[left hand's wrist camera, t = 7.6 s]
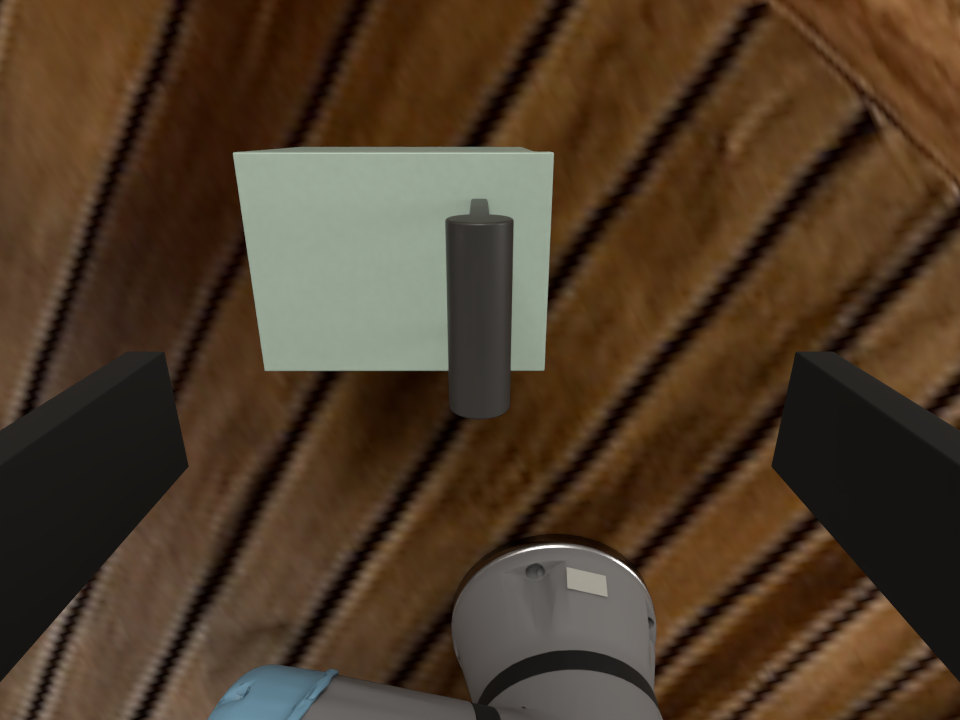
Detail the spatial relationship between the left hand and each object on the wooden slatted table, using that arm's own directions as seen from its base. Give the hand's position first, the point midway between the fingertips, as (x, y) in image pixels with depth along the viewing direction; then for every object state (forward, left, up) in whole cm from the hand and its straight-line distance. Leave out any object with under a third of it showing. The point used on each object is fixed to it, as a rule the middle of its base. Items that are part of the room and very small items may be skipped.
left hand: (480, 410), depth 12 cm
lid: (-2, +3, -15) cm, 15 cm away
